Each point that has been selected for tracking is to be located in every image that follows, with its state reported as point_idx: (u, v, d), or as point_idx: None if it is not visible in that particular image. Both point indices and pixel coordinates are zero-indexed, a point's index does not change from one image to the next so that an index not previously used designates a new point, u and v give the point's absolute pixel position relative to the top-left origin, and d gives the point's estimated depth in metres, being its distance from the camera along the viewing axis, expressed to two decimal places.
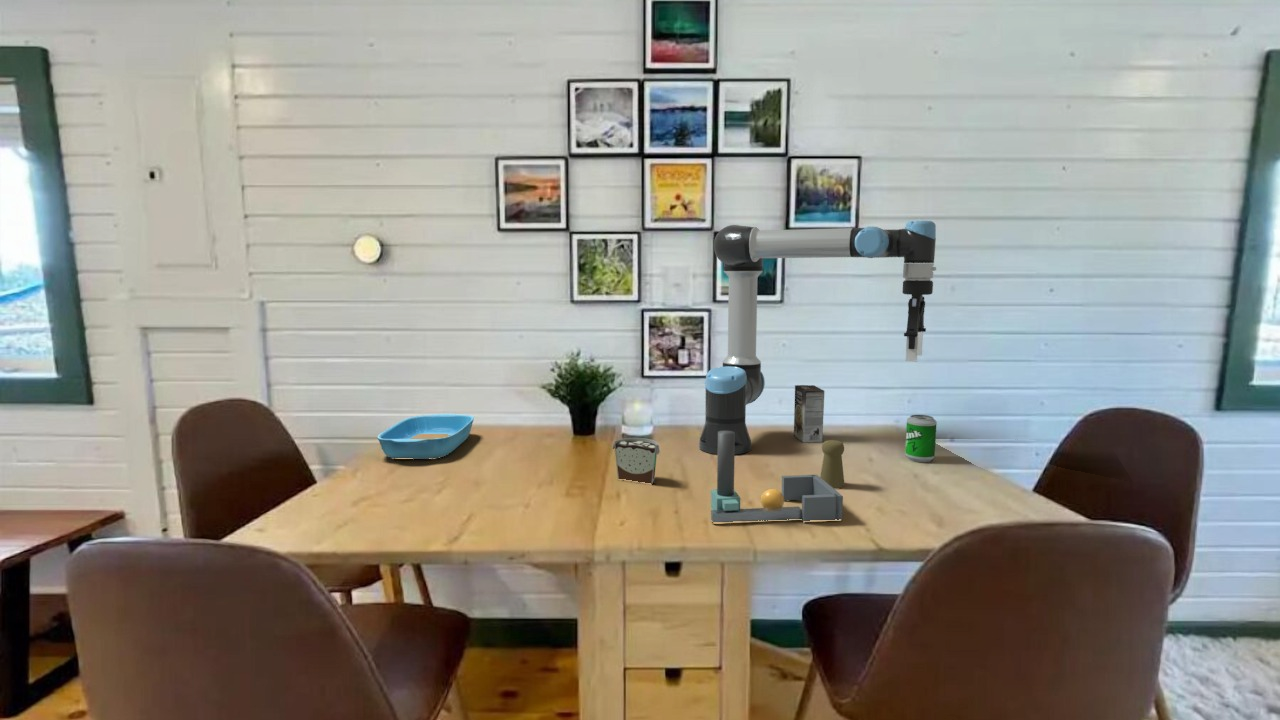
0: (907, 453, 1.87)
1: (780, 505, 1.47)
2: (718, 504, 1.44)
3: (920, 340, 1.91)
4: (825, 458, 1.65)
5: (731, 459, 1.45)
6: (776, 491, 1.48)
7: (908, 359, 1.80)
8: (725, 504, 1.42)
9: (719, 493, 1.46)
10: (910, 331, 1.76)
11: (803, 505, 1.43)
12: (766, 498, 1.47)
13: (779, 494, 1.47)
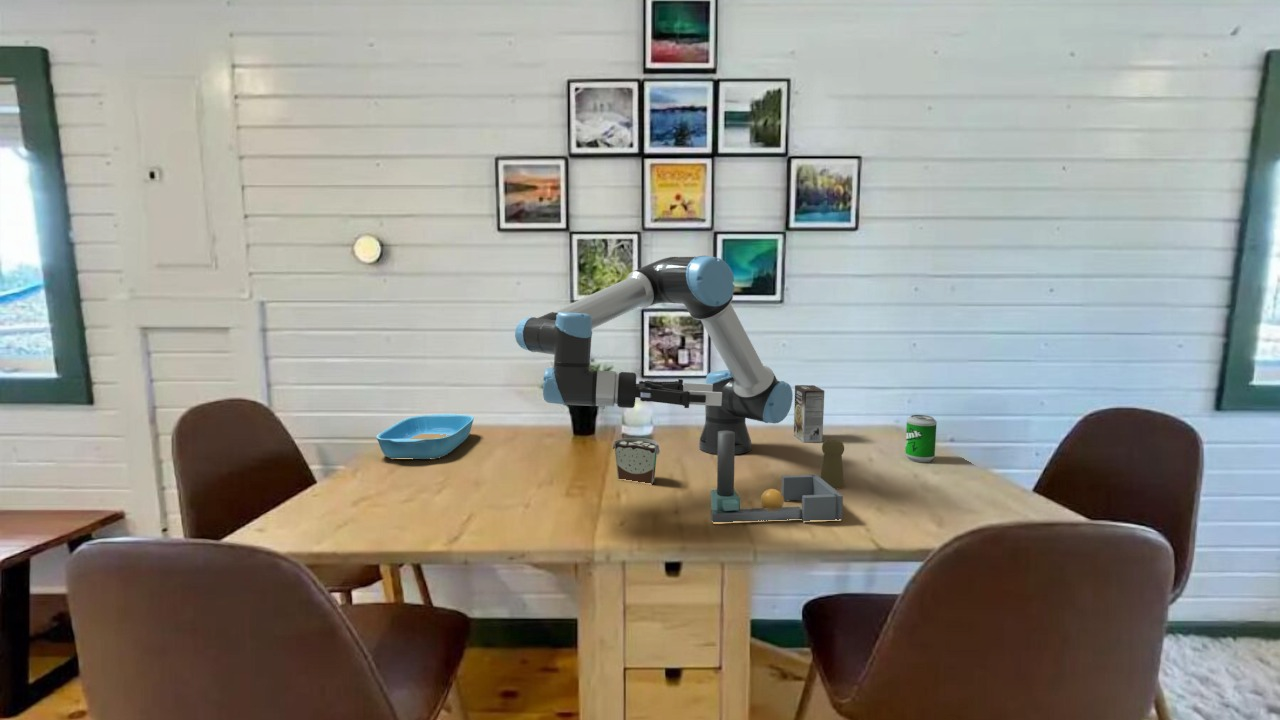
0: (907, 453, 1.87)
1: (780, 505, 1.47)
2: (718, 504, 1.44)
3: None
4: (825, 458, 1.65)
5: (731, 459, 1.45)
6: (776, 491, 1.48)
7: None
8: (725, 504, 1.42)
9: (719, 493, 1.46)
10: None
11: (803, 505, 1.43)
12: (766, 498, 1.47)
13: (779, 494, 1.47)
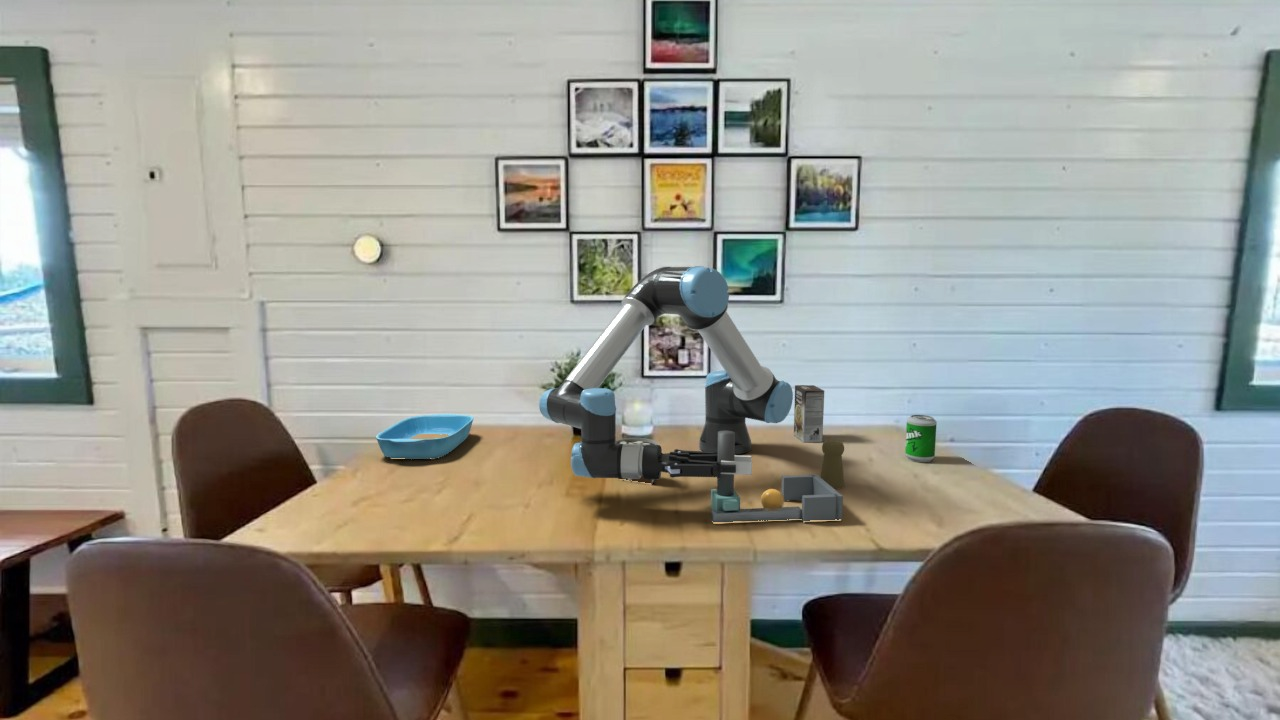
0: (907, 453, 1.87)
1: (780, 505, 1.47)
2: (718, 504, 1.44)
3: None
4: (825, 458, 1.65)
5: (731, 459, 1.45)
6: (776, 491, 1.48)
7: None
8: (725, 504, 1.42)
9: (719, 493, 1.46)
10: None
11: (803, 505, 1.43)
12: (766, 498, 1.47)
13: (779, 494, 1.47)
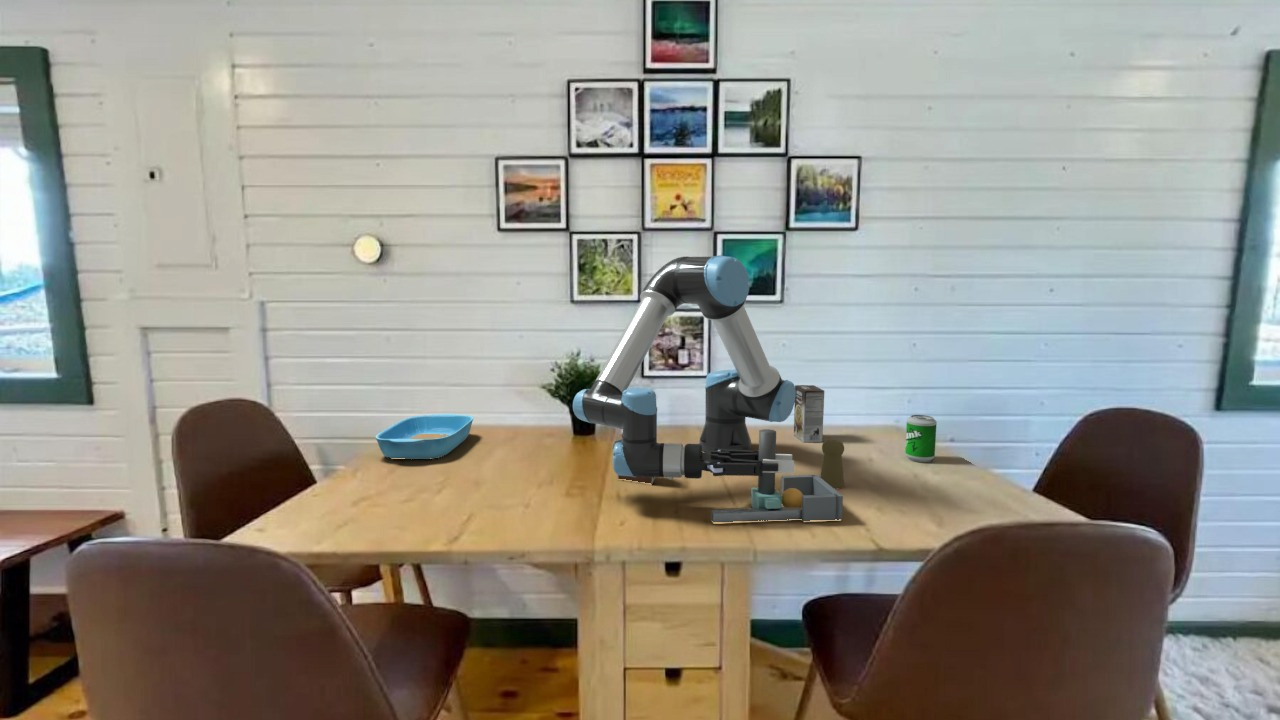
0: (907, 453, 1.87)
1: None
2: (760, 502, 1.45)
3: None
4: (825, 458, 1.65)
5: (773, 458, 1.46)
6: None
7: None
8: (767, 502, 1.43)
9: (760, 491, 1.47)
10: None
11: (803, 505, 1.43)
12: (801, 495, 1.48)
13: (801, 507, 1.48)
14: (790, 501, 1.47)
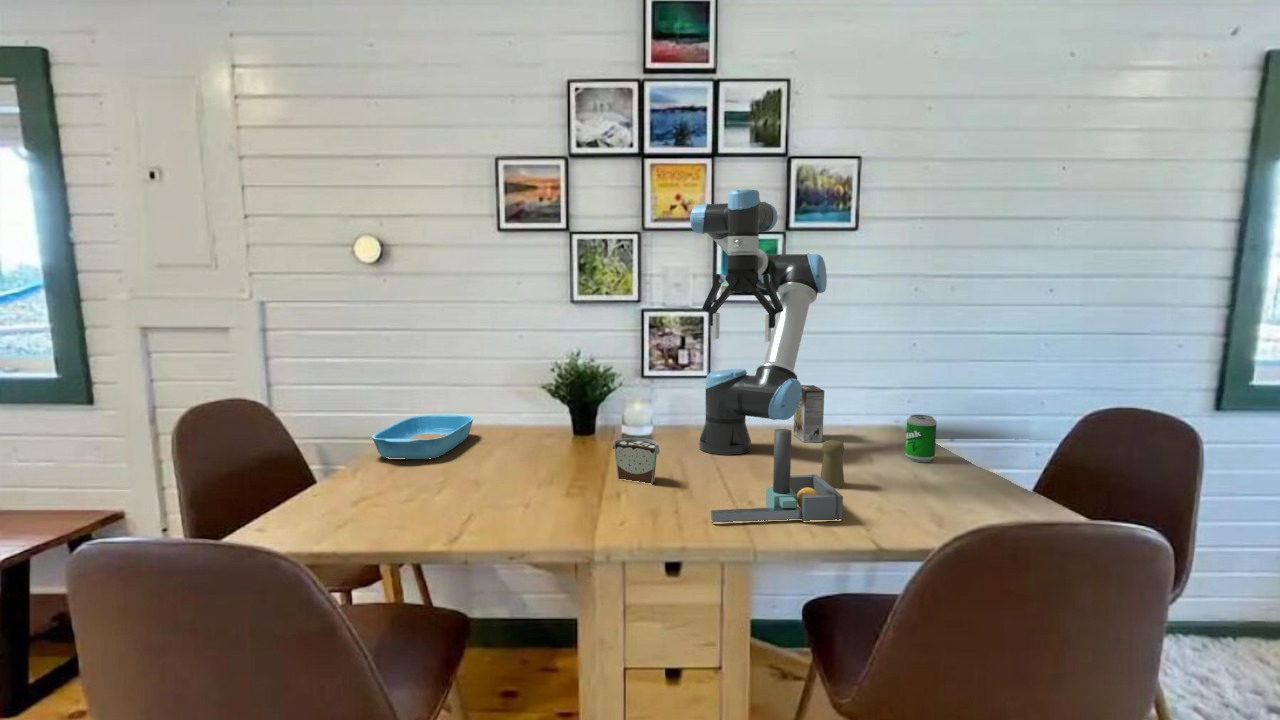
0: (907, 453, 1.87)
1: None
2: (775, 502, 1.46)
3: None
4: (825, 458, 1.65)
5: (788, 457, 1.46)
6: None
7: None
8: (783, 501, 1.43)
9: (775, 491, 1.48)
10: None
11: (803, 505, 1.43)
12: None
13: None
14: None
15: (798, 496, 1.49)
